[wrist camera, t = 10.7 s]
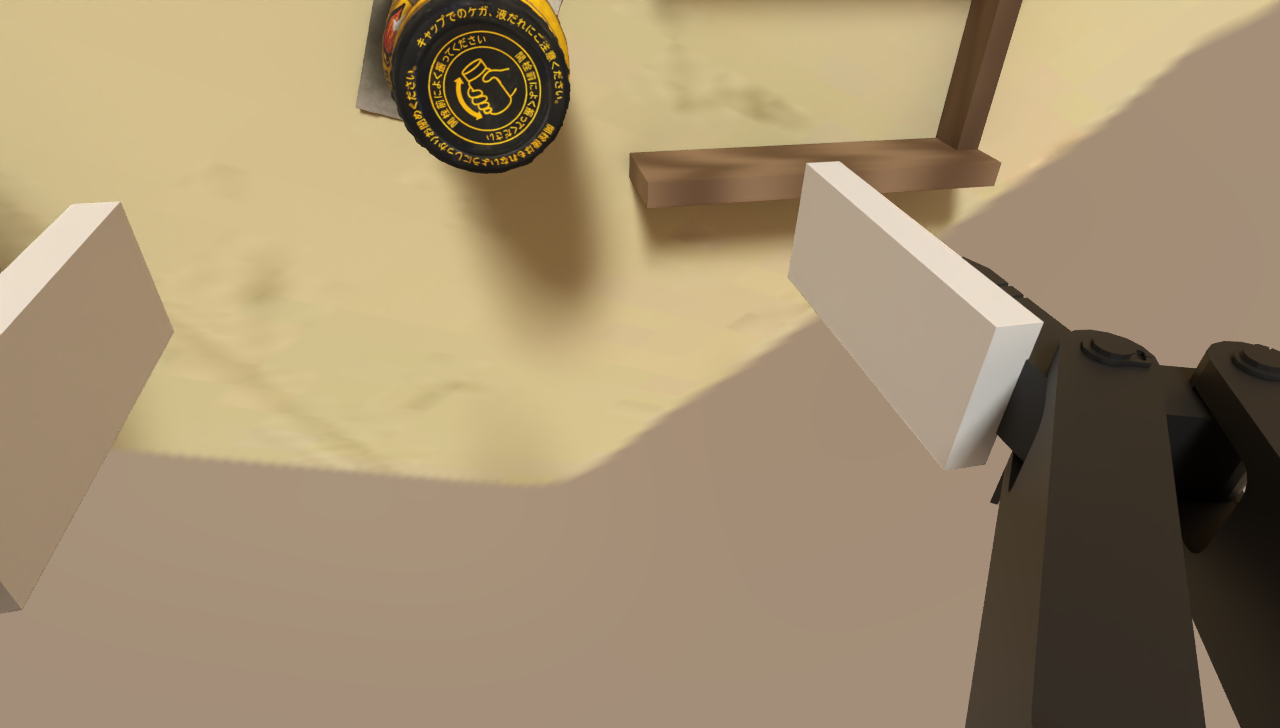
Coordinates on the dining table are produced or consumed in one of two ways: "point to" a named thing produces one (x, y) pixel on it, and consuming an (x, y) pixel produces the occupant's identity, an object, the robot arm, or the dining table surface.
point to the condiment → (469, 77)
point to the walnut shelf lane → (875, 162)
